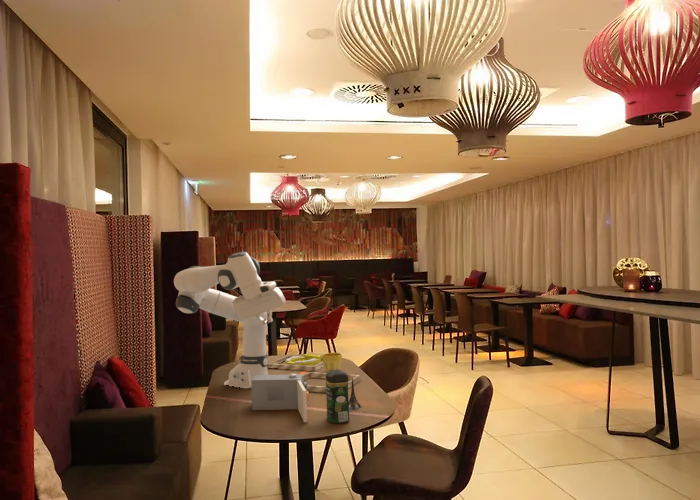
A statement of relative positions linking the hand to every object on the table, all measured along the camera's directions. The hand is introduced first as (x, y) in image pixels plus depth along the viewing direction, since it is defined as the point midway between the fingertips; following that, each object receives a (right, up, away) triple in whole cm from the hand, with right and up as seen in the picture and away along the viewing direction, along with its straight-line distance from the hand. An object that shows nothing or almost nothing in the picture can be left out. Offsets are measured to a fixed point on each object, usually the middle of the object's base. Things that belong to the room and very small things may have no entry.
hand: (268, 322), depth 210 cm
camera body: (+4, -36, +10) cm, 37 cm away
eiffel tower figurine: (+33, -36, +5) cm, 49 cm away
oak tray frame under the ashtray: (+4, -36, +91) cm, 98 cm away
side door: (+14, -35, -4) cm, 38 cm away
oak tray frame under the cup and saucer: (+20, -36, +44) cm, 60 cm away
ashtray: (+6, -37, +90) cm, 97 cm away
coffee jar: (+28, -35, -10) cm, 46 cm away
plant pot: (+23, -36, +69) cm, 82 cm away
